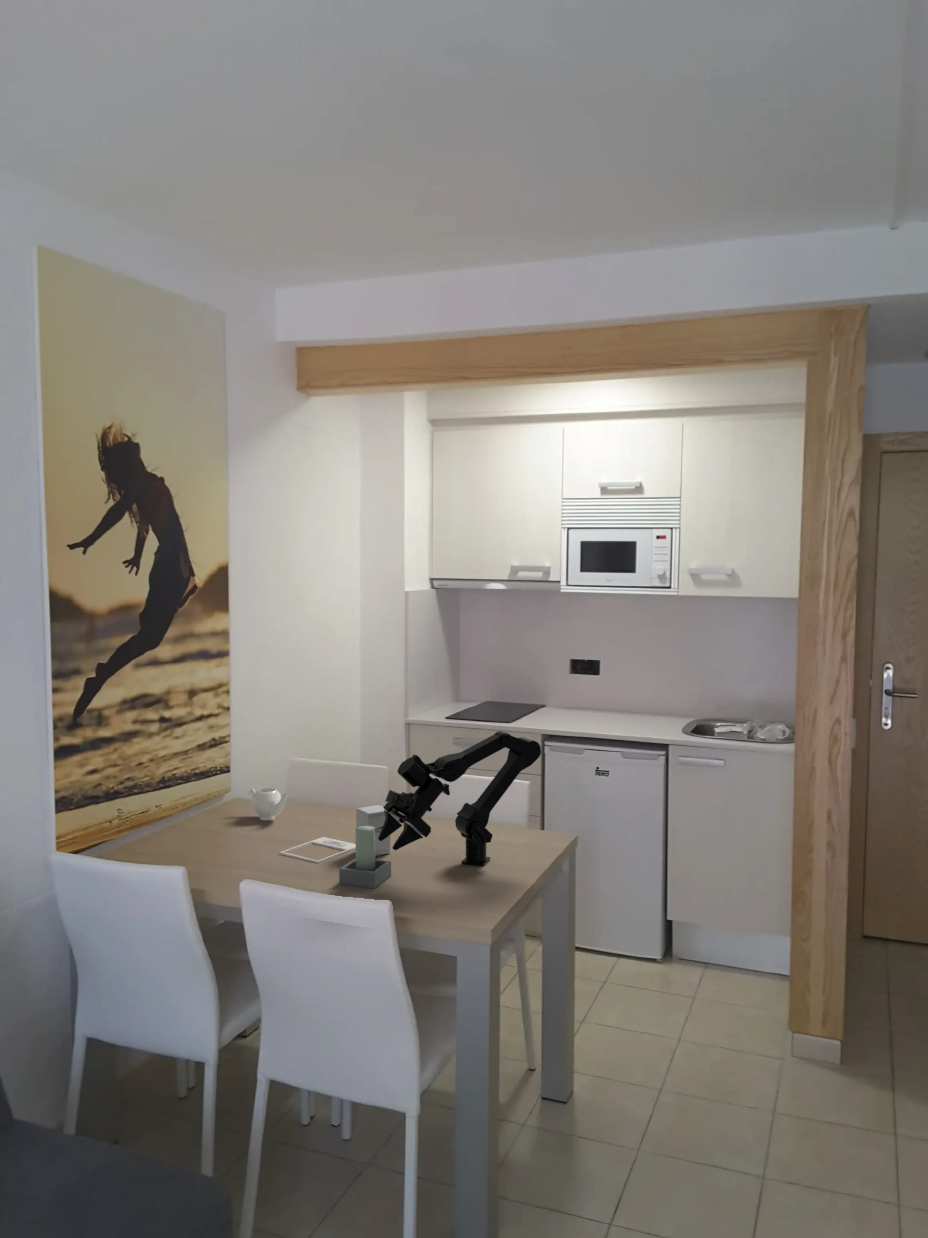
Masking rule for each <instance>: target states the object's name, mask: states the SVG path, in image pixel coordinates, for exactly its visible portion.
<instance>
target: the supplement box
mask: <svg viewBox="0 0 928 1238" xmlns="http://www.w3.org/2000/svg"><path fill="white" fill-rule="evenodd" d="M383 807H384V806H381V805H380V804H377V805H371V806H364V807H358V808H355V817H356V818H355V819H356V820H355V821H356V822H355V829H356V828H357V827H360V826H373V827H375V857H377V856H383V855H388V854H391V835H389V836H388V837H387V838H385V839H384V840H382V841H380V840H379V839H378V837H379V835H380V832H381V830H382V827H383V825H384V822H385V813H384V810H385V809H384V808H383ZM385 811H386V810H385Z"/></svg>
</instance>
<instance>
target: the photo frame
mask: <svg viewBox="0 0 928 1238" xmlns="http://www.w3.org/2000/svg"><path fill="white" fill-rule="evenodd" d="M311 844H313V845H318V846H322V847H327V848H331V849H336V850H338V851H339V850H340V852H337V853H334V854H332V855H329V856H326V857H324V858H322V859H318V860H317V859H313V858H309V857H306V856H302V855H297V854H293V853H289V852H291V851H292V852H293V851H295V850H297V849H300V848H301V849H302V848H304V847H306V846H309V845H311ZM354 850H356V843H353V842H347V841H343V840H339V839H335V838H330V837H325V836H322V837H319V838H316V839H313V840H311V841H307V842H305V843H301V844H298V845H295V846H293V847H290V848H288V849H286V850H282V851H280V852H279V855H282V856H287V857H290V858H294V859H299V860H304V861H307V862H310V863H311V862H312V863H316V864H320V863H323V862H325V861H328V860H331V859H333V858H335V857H338V856H340V855H343V854H346V853H349V852H352V851H354Z"/></svg>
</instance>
